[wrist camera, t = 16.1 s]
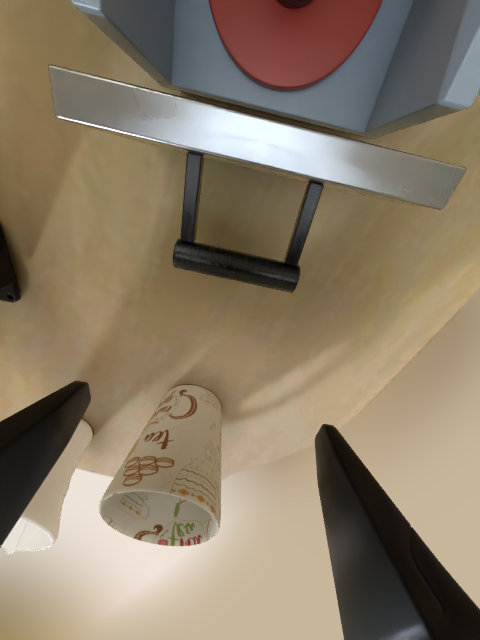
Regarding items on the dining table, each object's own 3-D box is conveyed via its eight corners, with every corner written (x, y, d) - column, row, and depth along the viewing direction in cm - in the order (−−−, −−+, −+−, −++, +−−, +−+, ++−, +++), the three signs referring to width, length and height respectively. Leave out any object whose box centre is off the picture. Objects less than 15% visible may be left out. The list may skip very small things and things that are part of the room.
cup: (39, 442, 31) (-46, 545, 22) (29, 392, 26) (-83, 499, 18) (110, 458, 32) (55, 564, 23) (113, 413, 27) (45, 524, 18)
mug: (226, 372, 23) (206, 490, 14) (242, 452, 29) (235, 568, 21) (141, 377, 24) (76, 490, 15) (175, 453, 30) (141, 564, 22)
